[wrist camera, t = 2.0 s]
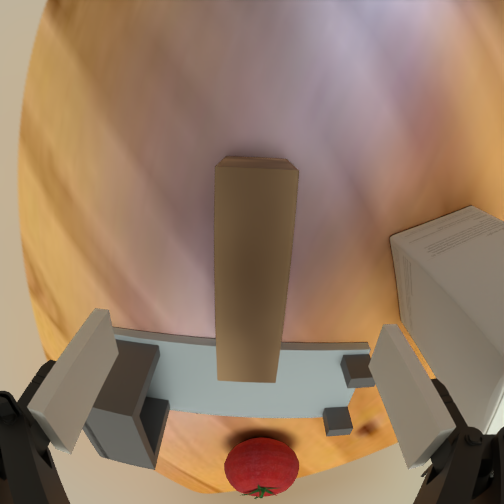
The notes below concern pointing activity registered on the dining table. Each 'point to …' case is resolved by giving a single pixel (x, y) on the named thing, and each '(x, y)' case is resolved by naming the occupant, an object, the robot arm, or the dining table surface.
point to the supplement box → (457, 307)
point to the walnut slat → (252, 263)
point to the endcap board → (215, 390)
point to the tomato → (261, 467)
